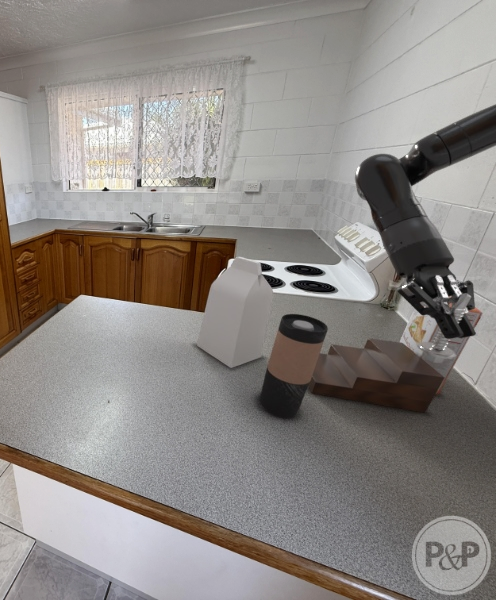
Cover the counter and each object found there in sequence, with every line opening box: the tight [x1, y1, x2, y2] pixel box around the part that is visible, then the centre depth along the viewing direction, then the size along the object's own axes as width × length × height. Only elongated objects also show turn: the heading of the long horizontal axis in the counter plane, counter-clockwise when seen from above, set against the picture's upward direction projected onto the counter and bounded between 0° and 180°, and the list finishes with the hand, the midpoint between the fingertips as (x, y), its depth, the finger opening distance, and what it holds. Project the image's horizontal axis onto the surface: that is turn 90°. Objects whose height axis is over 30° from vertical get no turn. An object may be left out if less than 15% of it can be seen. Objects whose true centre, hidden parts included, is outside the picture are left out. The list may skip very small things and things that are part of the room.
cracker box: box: [399, 296, 484, 395], centre depth 73 cm, size 14×6×21 cm, turn 149°
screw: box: [417, 293, 471, 363], centre depth 54 cm, size 13×5×5 cm
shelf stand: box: [308, 337, 445, 414], centre depth 72 cm, size 21×14×9 cm, turn 74°
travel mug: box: [259, 313, 329, 419], centre depth 62 cm, size 8×8×20 cm
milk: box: [196, 256, 274, 369], centre depth 81 cm, size 12×12×26 cm
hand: (461, 336), depth 52 cm, fingers closed on screw, 2 cm apart
